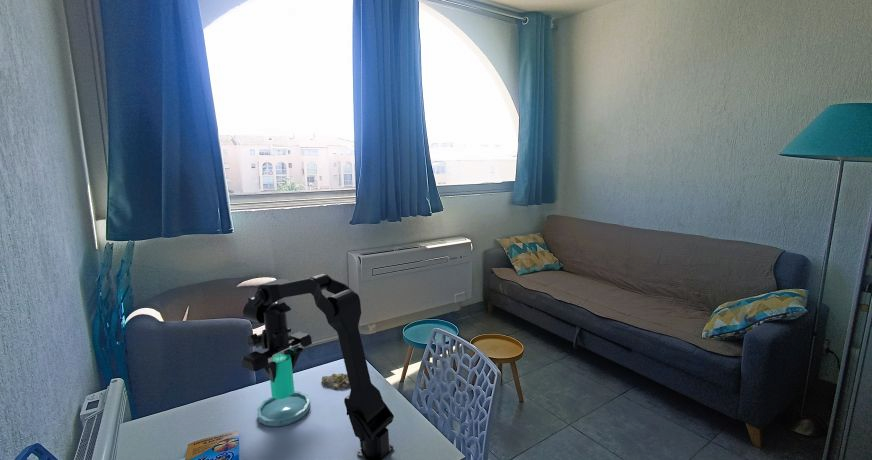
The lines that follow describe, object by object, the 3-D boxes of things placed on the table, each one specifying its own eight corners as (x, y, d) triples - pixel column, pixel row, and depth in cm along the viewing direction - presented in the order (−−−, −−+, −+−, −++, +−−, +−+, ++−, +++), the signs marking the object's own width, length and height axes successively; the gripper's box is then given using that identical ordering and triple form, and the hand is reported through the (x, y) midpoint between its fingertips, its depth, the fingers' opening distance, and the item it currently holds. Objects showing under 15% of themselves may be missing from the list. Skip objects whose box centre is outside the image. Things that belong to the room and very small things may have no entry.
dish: (320, 406, 115) (320, 399, 115) (279, 434, 103) (278, 427, 103) (289, 392, 122) (288, 386, 122) (247, 417, 111) (246, 410, 110)
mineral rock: (357, 369, 131) (351, 375, 123) (357, 383, 131) (351, 390, 123) (325, 370, 132) (317, 376, 124) (325, 384, 131) (317, 391, 123)
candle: (286, 400, 108) (282, 359, 106) (267, 398, 110) (262, 357, 108) (298, 388, 114) (294, 349, 112) (279, 386, 115) (275, 347, 113)
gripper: (286, 309, 121) (290, 357, 123) (226, 332, 105) (233, 386, 108) (311, 316, 115) (315, 366, 117) (251, 341, 99) (258, 398, 102)
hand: (281, 378), depth 111 cm, fingers closed on candle, 5 cm apart
